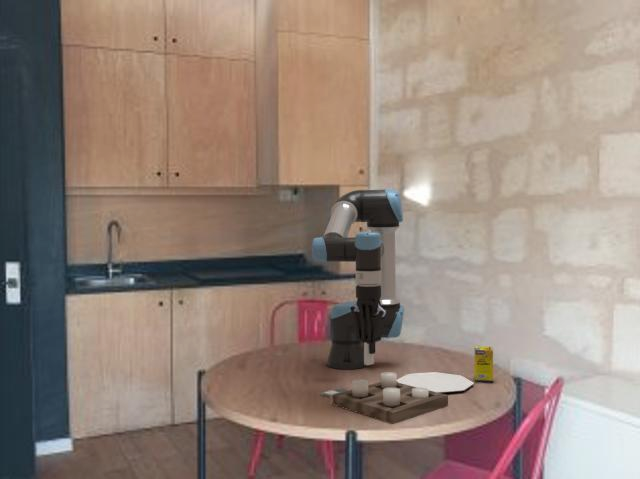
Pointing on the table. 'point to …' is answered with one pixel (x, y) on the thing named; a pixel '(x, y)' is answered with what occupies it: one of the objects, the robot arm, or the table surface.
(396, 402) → the button
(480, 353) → the supplement box
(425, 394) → the button
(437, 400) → the board
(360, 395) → the button
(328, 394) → the card
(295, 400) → the table surface
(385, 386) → the button
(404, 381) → the plate
